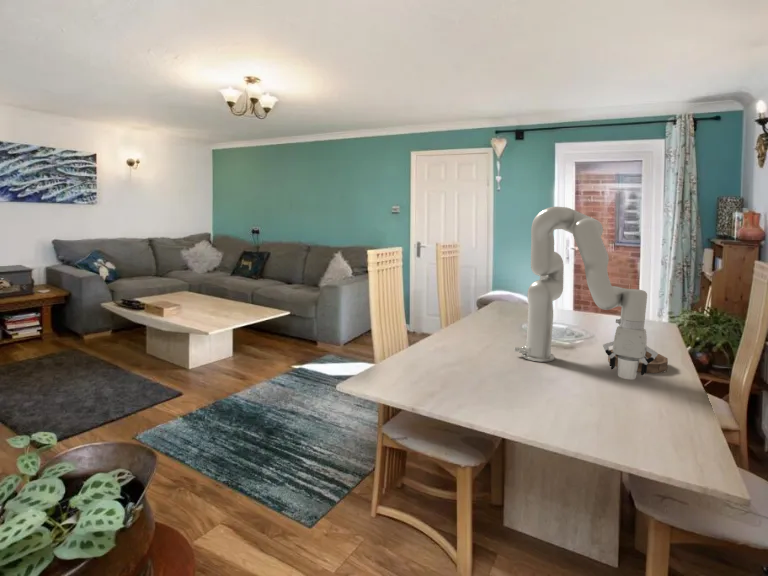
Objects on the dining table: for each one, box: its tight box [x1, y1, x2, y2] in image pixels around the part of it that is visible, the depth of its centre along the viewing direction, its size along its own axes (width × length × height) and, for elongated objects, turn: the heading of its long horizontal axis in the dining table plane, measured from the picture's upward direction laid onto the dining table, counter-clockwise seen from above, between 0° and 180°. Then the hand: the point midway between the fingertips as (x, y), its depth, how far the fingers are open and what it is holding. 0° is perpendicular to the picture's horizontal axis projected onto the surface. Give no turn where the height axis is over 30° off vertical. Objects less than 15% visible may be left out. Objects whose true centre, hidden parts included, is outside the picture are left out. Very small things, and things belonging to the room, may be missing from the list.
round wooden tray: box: [607, 348, 669, 374], centre depth 177 cm, size 20×20×4 cm
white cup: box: [617, 356, 639, 380], centre depth 163 cm, size 7×7×7 cm
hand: (627, 371), depth 163 cm, fingers open, 9 cm apart
